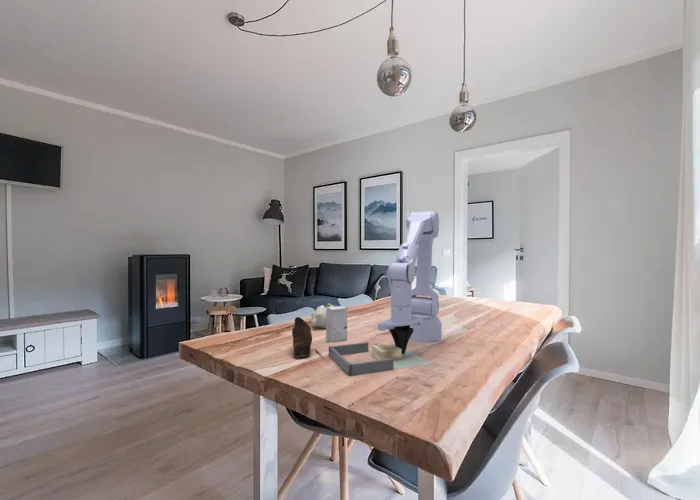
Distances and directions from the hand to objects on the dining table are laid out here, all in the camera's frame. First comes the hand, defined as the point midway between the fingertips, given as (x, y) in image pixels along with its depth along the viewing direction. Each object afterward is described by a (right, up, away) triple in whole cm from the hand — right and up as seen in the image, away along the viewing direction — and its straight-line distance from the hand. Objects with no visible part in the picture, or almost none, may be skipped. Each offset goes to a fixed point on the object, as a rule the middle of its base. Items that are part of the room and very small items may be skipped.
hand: (400, 353), depth 93 cm
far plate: (-1, -2, 0) cm, 3 cm away
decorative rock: (-29, -3, +8) cm, 30 cm away
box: (-12, -2, -5) cm, 13 cm away
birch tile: (-4, -1, -1) cm, 5 cm away
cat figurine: (-25, -2, +41) cm, 48 cm away
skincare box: (-19, -3, +17) cm, 26 cm away
